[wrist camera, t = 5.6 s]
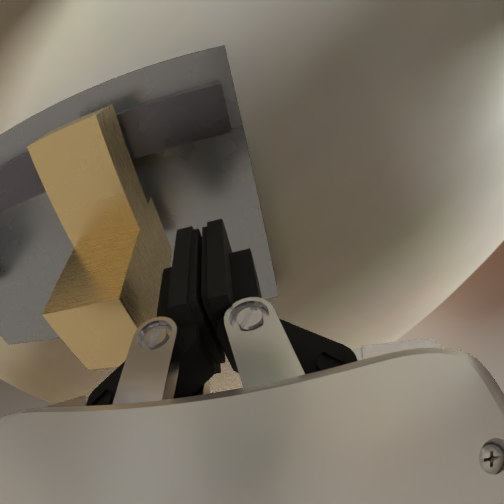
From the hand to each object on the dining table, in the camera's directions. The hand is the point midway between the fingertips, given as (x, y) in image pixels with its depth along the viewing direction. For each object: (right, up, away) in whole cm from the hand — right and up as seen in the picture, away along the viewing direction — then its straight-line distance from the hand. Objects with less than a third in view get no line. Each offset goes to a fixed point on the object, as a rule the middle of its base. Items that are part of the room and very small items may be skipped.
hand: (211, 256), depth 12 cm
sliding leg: (-5, +3, +2) cm, 6 cm away
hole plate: (-9, +1, +4) cm, 10 cm away
